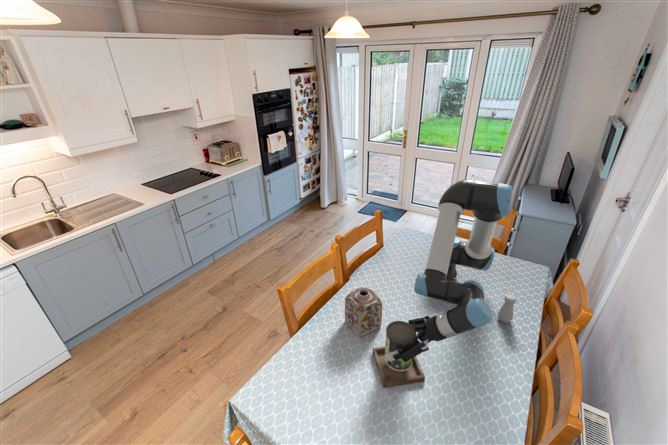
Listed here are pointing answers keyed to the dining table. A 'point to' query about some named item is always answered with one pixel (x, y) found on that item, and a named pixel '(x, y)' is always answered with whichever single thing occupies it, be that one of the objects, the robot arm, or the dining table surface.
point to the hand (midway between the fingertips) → (390, 346)
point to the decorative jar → (363, 311)
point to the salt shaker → (507, 309)
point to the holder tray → (397, 377)
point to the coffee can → (398, 343)
